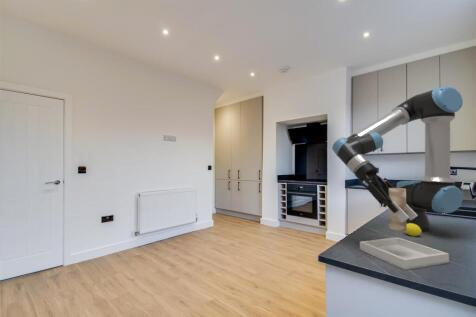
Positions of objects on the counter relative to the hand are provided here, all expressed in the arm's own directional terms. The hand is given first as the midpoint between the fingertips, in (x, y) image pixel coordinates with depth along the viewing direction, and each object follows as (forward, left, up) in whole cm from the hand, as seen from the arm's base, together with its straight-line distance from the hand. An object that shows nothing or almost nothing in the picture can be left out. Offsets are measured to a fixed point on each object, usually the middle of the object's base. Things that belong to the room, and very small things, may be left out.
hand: (409, 218), depth 81 cm
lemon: (-26, -20, -14) cm, 36 cm away
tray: (0, -3, -13) cm, 14 cm away
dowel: (+1, -4, -4) cm, 6 cm away
